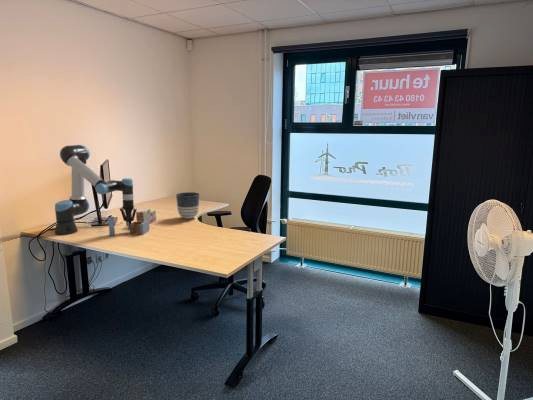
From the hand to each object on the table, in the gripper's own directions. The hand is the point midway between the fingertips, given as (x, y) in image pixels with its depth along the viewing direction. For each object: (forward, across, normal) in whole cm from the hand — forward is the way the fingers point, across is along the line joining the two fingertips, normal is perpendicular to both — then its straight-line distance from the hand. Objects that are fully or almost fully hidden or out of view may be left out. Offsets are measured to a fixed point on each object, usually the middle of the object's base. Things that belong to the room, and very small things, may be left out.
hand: (129, 229), depth 282 cm
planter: (+1, +32, +47) cm, 57 cm away
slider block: (+2, +7, 0) cm, 7 cm away
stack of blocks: (+2, +3, +26) cm, 26 cm away
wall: (+1, +12, 0) cm, 12 cm away
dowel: (+2, -8, -10) cm, 13 cm away
